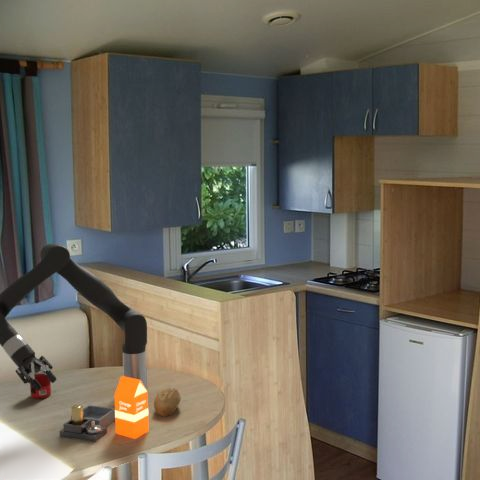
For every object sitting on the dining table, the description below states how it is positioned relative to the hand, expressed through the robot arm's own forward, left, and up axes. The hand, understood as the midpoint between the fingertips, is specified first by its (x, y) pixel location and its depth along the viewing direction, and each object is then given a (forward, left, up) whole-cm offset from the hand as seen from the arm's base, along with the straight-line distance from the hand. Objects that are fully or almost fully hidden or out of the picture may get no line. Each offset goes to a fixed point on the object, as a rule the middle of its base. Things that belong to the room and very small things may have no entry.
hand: (47, 385), depth 254 cm
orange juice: (-8, +29, -17) cm, 34 cm away
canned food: (-27, -23, -17) cm, 39 cm away
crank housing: (0, +14, -16) cm, 21 cm away
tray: (-10, +12, -16) cm, 23 cm away
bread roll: (-30, +32, -17) cm, 47 cm away
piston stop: (0, +12, -14) cm, 19 cm away
